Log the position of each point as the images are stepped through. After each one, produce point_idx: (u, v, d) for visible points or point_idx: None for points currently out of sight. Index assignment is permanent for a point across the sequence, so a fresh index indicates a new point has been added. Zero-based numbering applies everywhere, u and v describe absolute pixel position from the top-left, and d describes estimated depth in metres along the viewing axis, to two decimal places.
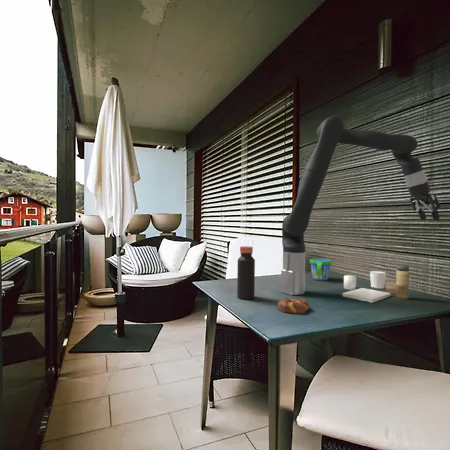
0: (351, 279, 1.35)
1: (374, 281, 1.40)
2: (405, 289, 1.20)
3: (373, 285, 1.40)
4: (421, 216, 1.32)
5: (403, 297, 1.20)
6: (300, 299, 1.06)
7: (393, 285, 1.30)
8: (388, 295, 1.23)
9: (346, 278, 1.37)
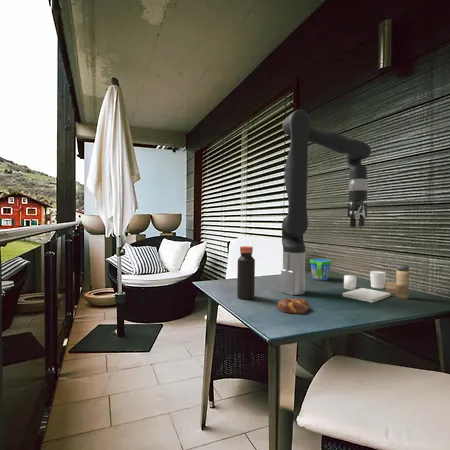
0: (352, 279, 1.35)
1: (374, 281, 1.40)
2: (405, 289, 1.20)
3: (373, 285, 1.40)
4: (359, 222, 1.38)
5: (403, 297, 1.20)
6: (300, 299, 1.06)
7: (393, 285, 1.30)
8: (388, 295, 1.23)
9: (346, 278, 1.37)
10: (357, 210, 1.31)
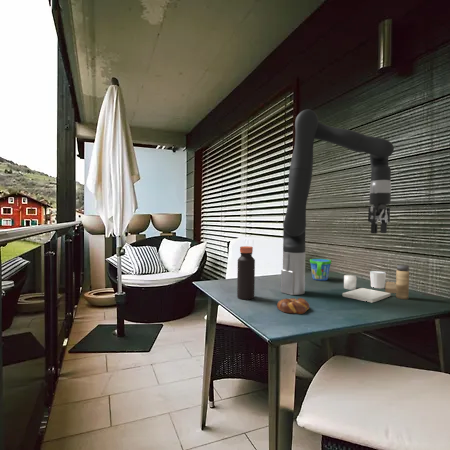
0: (352, 279, 1.35)
1: (374, 281, 1.40)
2: (405, 289, 1.20)
3: (373, 285, 1.40)
4: (381, 228, 1.25)
5: (403, 297, 1.20)
6: (300, 299, 1.06)
7: (393, 285, 1.30)
8: (388, 295, 1.23)
9: (347, 278, 1.36)
10: (379, 215, 1.18)
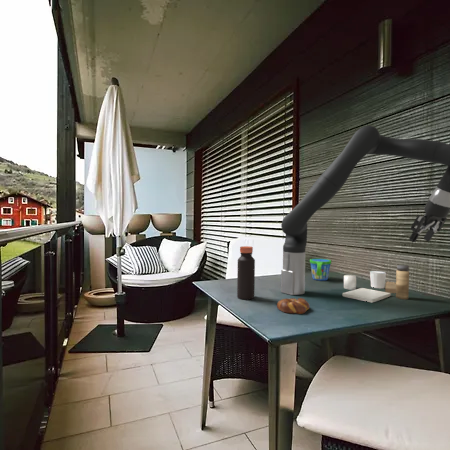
0: (352, 279, 1.35)
1: (374, 281, 1.40)
2: (405, 289, 1.20)
3: (373, 285, 1.40)
4: (426, 235, 1.17)
5: (403, 297, 1.20)
6: (300, 299, 1.06)
7: (393, 285, 1.30)
8: (388, 295, 1.23)
9: (346, 278, 1.36)
10: (426, 226, 1.10)
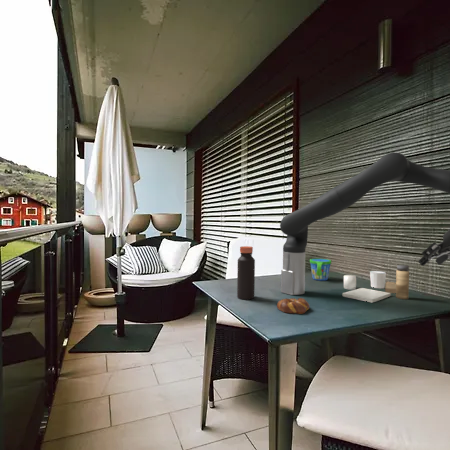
0: (352, 279, 1.36)
1: (374, 281, 1.40)
2: (405, 289, 1.20)
3: (373, 285, 1.40)
4: (439, 258, 1.12)
5: (403, 297, 1.20)
6: (300, 299, 1.06)
7: (393, 285, 1.30)
8: (388, 295, 1.23)
9: (346, 278, 1.36)
10: (439, 254, 1.05)
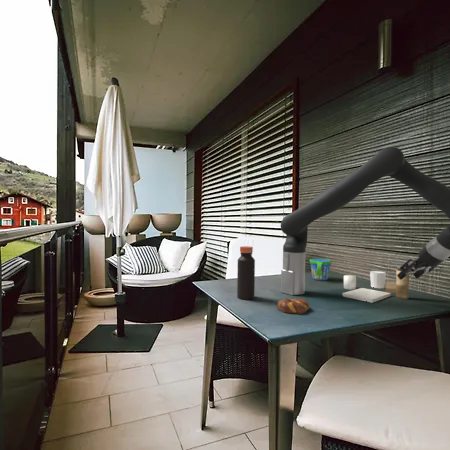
0: (352, 279, 1.36)
1: (374, 281, 1.40)
2: (405, 289, 1.20)
3: (373, 285, 1.40)
4: (416, 272, 1.20)
5: (403, 297, 1.20)
6: (300, 299, 1.06)
7: (393, 285, 1.30)
8: (388, 295, 1.23)
9: (347, 278, 1.36)
10: (415, 269, 1.13)
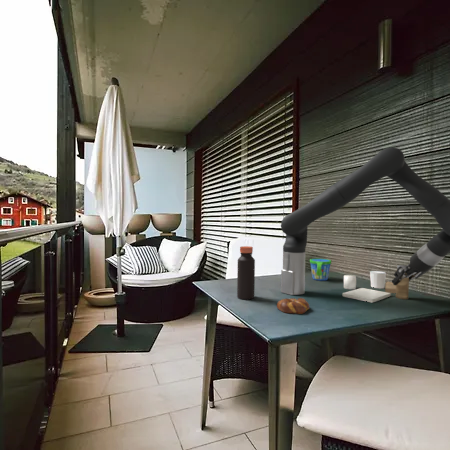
0: (353, 278, 1.36)
1: (374, 281, 1.40)
2: (404, 289, 1.20)
3: (373, 285, 1.40)
4: None
5: (403, 297, 1.20)
6: (300, 299, 1.06)
7: (393, 285, 1.30)
8: (388, 295, 1.23)
9: (347, 278, 1.36)
10: (407, 275, 1.17)
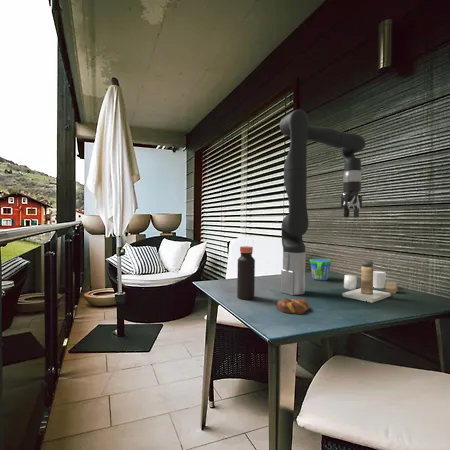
0: (356, 279, 1.36)
1: (374, 281, 1.40)
2: (368, 285, 1.22)
3: (373, 285, 1.40)
4: (354, 213, 1.41)
5: (367, 292, 1.22)
6: (300, 300, 1.05)
7: (393, 285, 1.30)
8: (388, 295, 1.23)
9: (352, 279, 1.35)
10: (350, 201, 1.35)
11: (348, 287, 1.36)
